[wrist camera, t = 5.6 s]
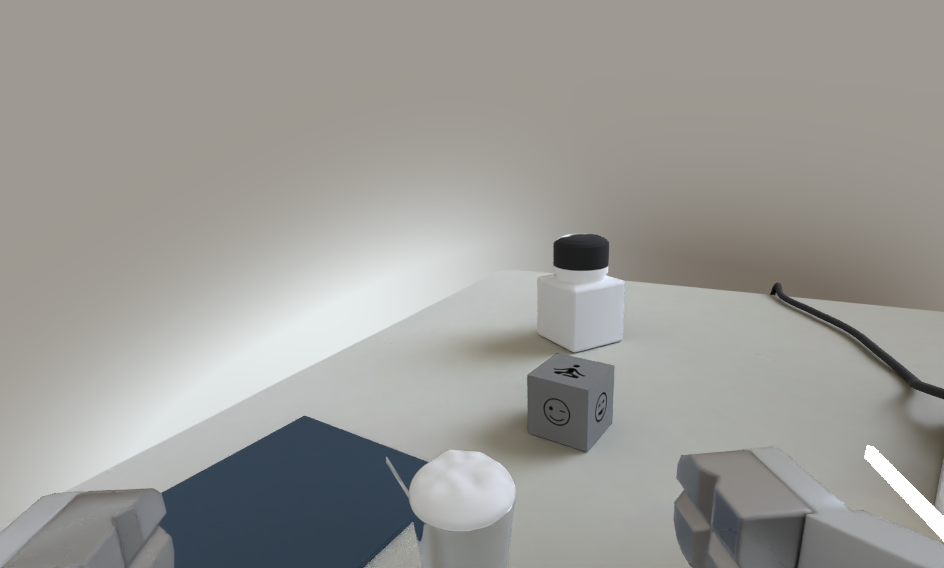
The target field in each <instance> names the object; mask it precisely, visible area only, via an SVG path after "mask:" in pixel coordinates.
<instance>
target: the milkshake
mask: <svg viewBox="0 0 944 568" xmlns="http://www.w3.org/2000/svg"><path fill="white" fill-rule="evenodd" d="M386 463H387V465H388V466H389V468H390V470H391V471H392V473H393V474H394V476H395V478H396V479H397V481H398V482H399V484H400V486H401V487H402V489H403V490H404V492H405V493H406V495H407V497H408V498H409V502H410V507H411V512H412V517H413V522H414V528H415V533H416V538H417V543H418V548H419V554H420V560H421V567H422V568H507V563H508V555H509V549H510V542H511V533H512V523H513V513H514V504H515V494H516V489H515V484H514V481H513V479H512V477H511V476H510V474H509V473H508V471H507V470H506V469H505V468H504V466H502V465H501V464H500V463H499V462H497V461H495V460H493V459H491V458H490V457H488V456H486V455H485V454H483V453H480V452H477V451H460V450H448V451H445V452H443V453H442V454H440V455H439V456H438V457H437V458H435V459H434V460H433V461H431V462H429V463H427V464H426V465H424V466H423V467H422V468H421V469H420V470H419V471H418V472H417V473H416V474H415V476H414V478H413V479H412V482H411V484H410V488H409V491H408V490H407V488H406V486H405V485H404V483H403V482H402V480H401V478H400V477H399V475H398V474H397V472H396V470H395V469H394V467H393V466H392V464H391V462H390V461H389V459H388V458H387V457H386Z"/></svg>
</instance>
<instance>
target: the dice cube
mask: <svg viewBox="0 0 944 568" xmlns="http://www.w3.org/2000/svg"><path fill="white" fill-rule="evenodd" d="M527 386H528V433H530V434H533V435H536V436H539V437H542V438H545V439H548V440H551V441H554V442H557V443H560V444H564V445H567V446H570V447H573V448H576V449H579V450H582V451H585V452H588V450H589V449H590V448H591V447H592V446H593V445H594V443H595V442H596V441H597V440H598V439H599V437H600V436H601V435H602V434H603V433H604V432H605V430H606V429H607V428H608V427H609V426H610V425H611V423H612V415H613V389H614V366H613V365H609V364H604V363H600V362H595V361H591V360H586V359H582V358H577V357H572V356H568V355H563V354H559V353H556V354H555V355H554V356H552V357H551V358H550V359H548V360H547V361H546V362H544V363H543V364H541V365H540V366H539V367H537V368H536V369H535V370H533V371H532V372H531V373H529V374H528V375H527Z"/></svg>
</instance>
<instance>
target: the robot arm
mask: <svg viewBox="0 0 944 568" xmlns="http://www.w3.org/2000/svg"><path fill="white" fill-rule="evenodd" d="M776 293H777V295H778V297H779V298H781V299H782V300H784V301H785V302H787V303H789V304H791V305H793V306H795V307H797V308H799V309H802V310H804V311H806V312H808V313H810V314H812V315H814V316H816V317H818V318H821V319H823V320H825V321H827V322H829V323H831V324H833V325H835V326H837V327H839V328H841V329H843V330H845V331H846V332H848V333H849V334H851V335H853V336H854V337H855V338H857V339H858V340H859V341H861V342H862V343H863V344H864V345H865V346H866V347H868V348H869V349H870V350H871V351H872V352H873V353H875V354H876V355H877V356H878V357H879V358H881V359H882V360H883V361H884V362H885V363H887V364H888V365H889V366H890V367H891V368H892V369H894V370H895V371H896V372H897V373H898V374H899V375H901V376H902V377H903V378H904V379H905V380H906V381H907V382H909V383H910V386H911V387H913V388H914V389H916V390H919V391H921V392H924V393H927V394H930V395H933V396H936V397H939V398H941V399H944V389H942V388H939V387H936V386H933V385H930V384H927V383H924V382H921V381H920V380H919V379H918V378H917V377H915V376H914V375H913V374H912V373H910V372H909V371H908V370H907V369H906V368H904V367H903V366H902V365H901V364H900V363H898V362H897V361H896V360H895V359H893V358H892V357H891V356H890V355H888V354H887V353H886V352H885V351H883V350H882V349H881V348H880V347H878V346H877V345H876V344H875V343H874V342H872V341H871V340H870V339H869V338H867V337H866V336H865V335H863V334H862V333H860V332H859V331H857V330H856V329H854V328H852V327H851V326H849V325H847V324H845V323H843V322H842V321H840V320H837V319H835V318H833V317H831V316H829V315H827V314H824V313H822V312H820V311H818V310H816V309H814V308H812V307H809V306H807V305H805V304H803V303H800V302H798V301H796V300H793V299H791V298H789V297H788V296H786V295H785V294H784V293H783V292H782V287H781V284H780V283H776V284H774V286H773V288H772V290H771V293H770V295H776ZM865 458H866V459H867V460H868V461H869V463H870V464H871V465H872V466H873V467H874V468H875V469H876V470H877V471H878V472H879V473H880V474H881V475H882V476H883V477H884V478H885V479H886V480H887V482H888V483H889V484H890V485H891V486H892V487H893V488H894V489H895V490H896V491H897V492H898V493H899V494H900V495H901V496H902V497H903V498H904V499H905V501H906V502H907V503H908V504H909V505H910V506H911V507H912V508H913V509H914V510H915V511H916V512H917V513H918V514H919V515H920V516H921V517H922V518H923V520H924V521H925V522H926V523H927V524H928V525H929V526H930V527H931V528H932V529H933V530H934V531H935V532H936V533H937V534H938V535H939V536H940V538H941V539H942V540H943V541H944V458H943V464H942V469H941V474H940V479H939V484H938V490H937V495H936V500H935V508H934V507H933V506H932V505H931V504H930V503H929V502H928V501H927V500H926V499H925V498H924V497H923V496H922V495H921V494H920V493H919V492H918V491H917V490H916V489H915V488H914V487H913V486H912V485H911V484H910V483H909V482H908V481H907V480H906V479H905V478H904V477H903V476H902V475H901V474H900V473H899V472H898V471H897V470H896V469H895V468H894V467H893V466H892V465H891V464H890V463H889V462H888V461H887V460H886V459H885V458H884V457H883V456H882V455H881V454H880V453H879V452H878V451H877V450H876V449H875V448H874V447H873V446H867V448H866V453H865ZM676 478H677V480H678V481H679V482H680V484H681V485H682V487H683V488H684V489H685V490H684V491H683V492H682V494H681V495H680V496H679V497H678V498H677V500H676V501H675V502H674V525H675V531H676V536H677V540H678V543H679V545H680V548H681V551H682V553H683V555H684V556H685V558H686V560H687V561H688V563H689V565H690V566H691V567H693V568H944V544H943V543H941V542H938V541H936V540H934V539H931V538H929V537H926V536H924V535H921V534H919V533H917V532H914V531H912V530H909V529H907V528H904V527H902V526H900V525H897V524H895V523H892V522H890V521H887V520H885V519H883V518H880V517H878V516H875V515H873V514H870V513H868V512H866V511H863V510H860V511H852V510H851V509H850V508H848V507H847V506H846V505H845V504H844V503H843V502H841V501H840V500H839V499H838V498H837V497H836V496H835V495H833V494H832V493H831V492H830V491H829V490H828V489H826V488H825V487H824V486H823V485H822V484H821V483H820V482H818V481H817V480H816V479H815V478H814V477H813V476H812V475H810V474H809V473H808V472H807V471H806V470H805V469H803V468H802V467H801V466H800V465H799V464H798V463H797V462H795V461H794V460H793V459H792V458H791V457H790V456H788V455H787V454H786V453H785V452H784V451H783V450H781V449H778V448H775V447H763V448H753V449H743V450H738V451H726V452H714V453H702V454H690V455H681V458H680V460H679V462H678V467H677V477H676ZM165 514H166V508H165V504H164V500H163V497H162V493H160V492H158V491H157V490H155V489H154V488H151V489H128V490H105V491H88V492H82V491H81V492H67V493H54V494H50V495H47V496H43V497H41V498H40V499H39V500H37V501H36V502H35V503H34V504H33V505H32V506H31V507H30V508H28V509H27V510H26V511H25V512H24V513H23V514H21V515H20V516H19V517H18V518H17V519H16V520H15V521H13V522H12V523H11V524H10V525H9V526H8V527H7V528H5V529H4V530H3V531H2V532H1V533H0V568H174V546H173V541H172V537H171V536H170V535H169V534H168V533H166V532H165V531H164V530H163V529H162V528H161V527H160V526H159V524H160V522H161V521H162V519H163V517H164V516H165Z"/></svg>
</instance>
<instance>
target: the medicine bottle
mask: <svg viewBox="0 0 944 568" xmlns="http://www.w3.org/2000/svg"><path fill="white" fill-rule="evenodd" d="M608 258H609V242H608V241H607V239H605V238H603V237H601V236H598V235H594V234H569V235H564V236H562V237H560V238H557V239H556V240H555V241H554V266H553V269H554V270H553V271H554V273H556V274H554V275H548V276H542V277H539V278H538V280H537V288H538V334H539V335H541V336H543V337H545V338H547V339H549V340H550V341H552V342H554V343H556V344H558V345H560V346H562V347H564V348H566V349H568V350H569V351H571V352H574V353H575V352H579V351H583V350H587V349H591V348H595V347H599V346H603V345H607V344H611V343H615V342H619V341H621V340H622V339H623V322H624V298H625V282H624V281H623V280H620V279H616V278H612V277H609V276H606V275H605V274H607V273H608Z"/></svg>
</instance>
